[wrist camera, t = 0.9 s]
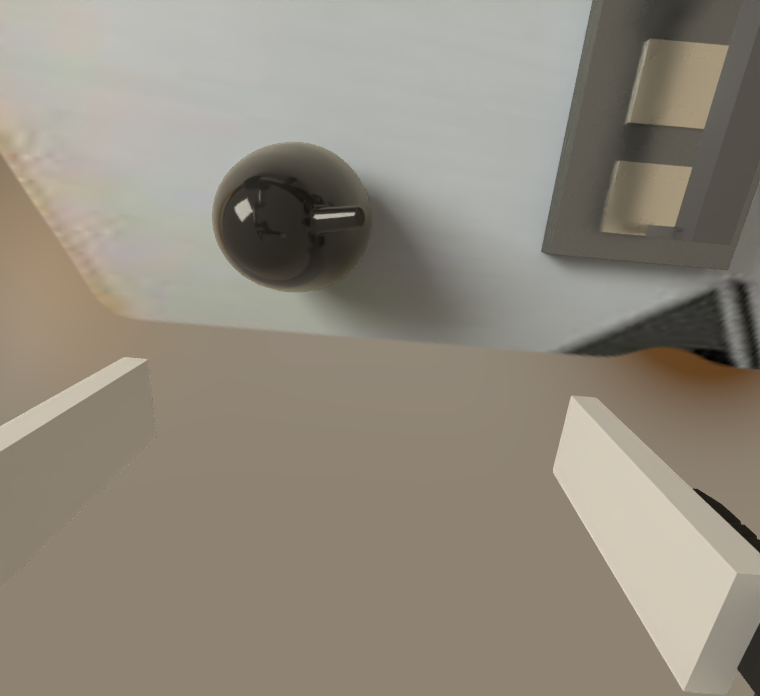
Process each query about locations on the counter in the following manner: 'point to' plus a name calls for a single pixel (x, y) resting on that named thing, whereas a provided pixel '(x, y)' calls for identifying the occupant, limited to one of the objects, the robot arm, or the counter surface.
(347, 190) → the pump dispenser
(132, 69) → the counter surface
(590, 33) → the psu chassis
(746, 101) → the lever
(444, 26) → the counter surface
